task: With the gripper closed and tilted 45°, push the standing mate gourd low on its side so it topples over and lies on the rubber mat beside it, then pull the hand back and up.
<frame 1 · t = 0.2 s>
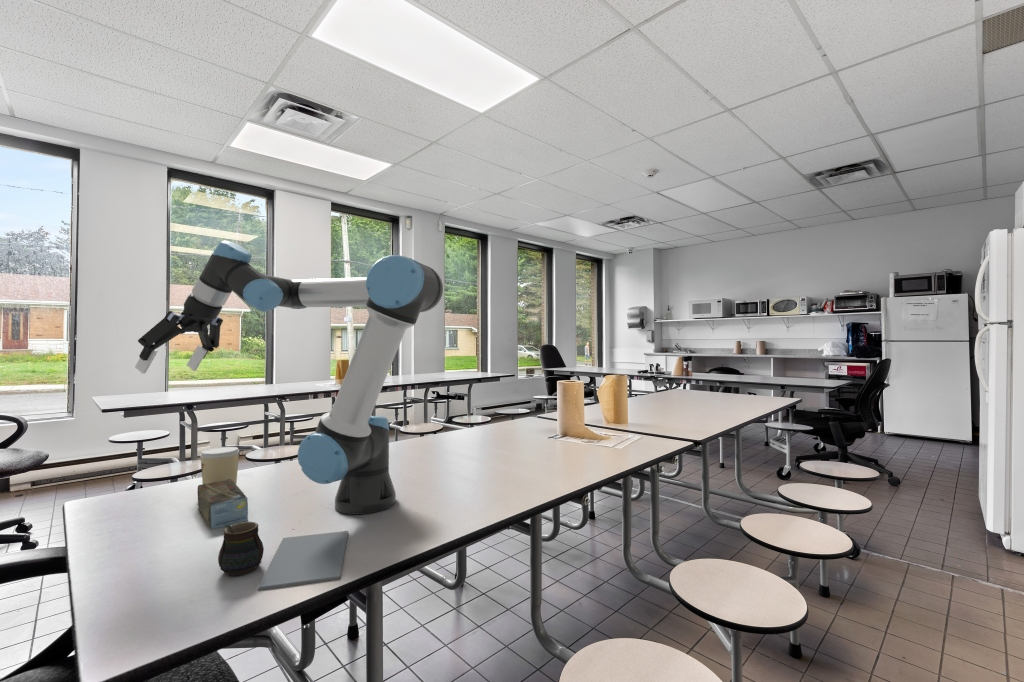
hand: (167, 369, 115), 36 cm above the table, tool tilted 35°, fingers open, 13 cm apart
beverage carton: (221, 516, 112), on the table
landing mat: (309, 557, 88), on the table
coffee cup: (219, 493, 128), on the table
mate gourd: (241, 571, 84), on the table
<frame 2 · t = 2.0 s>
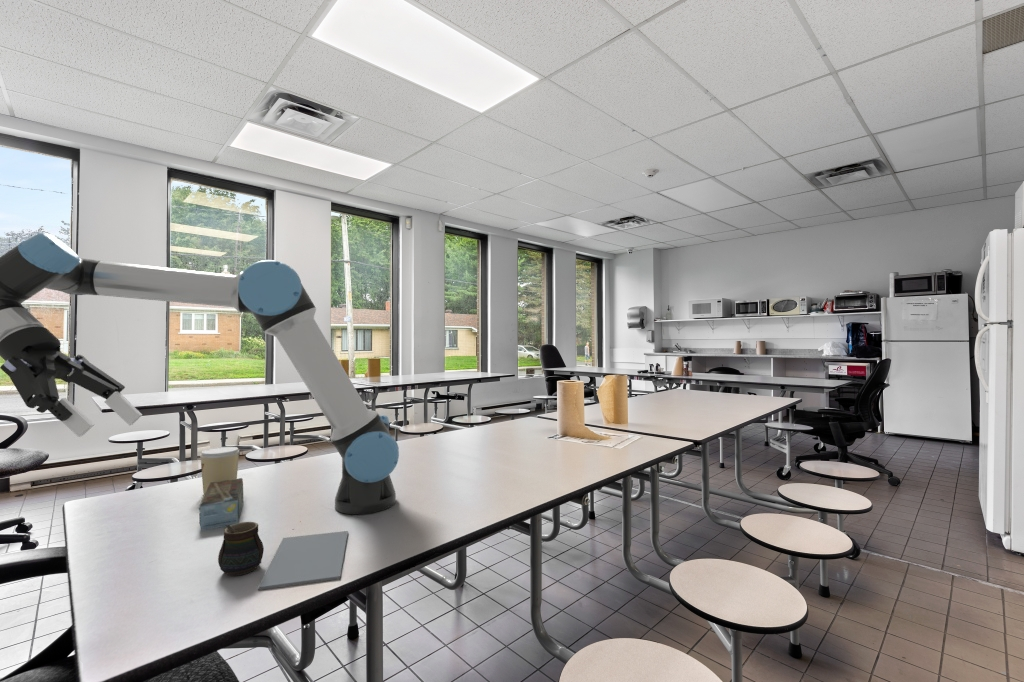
hand: (113, 425, 82), 27 cm above the table, tool tilted 45°, fingers open, 10 cm apart
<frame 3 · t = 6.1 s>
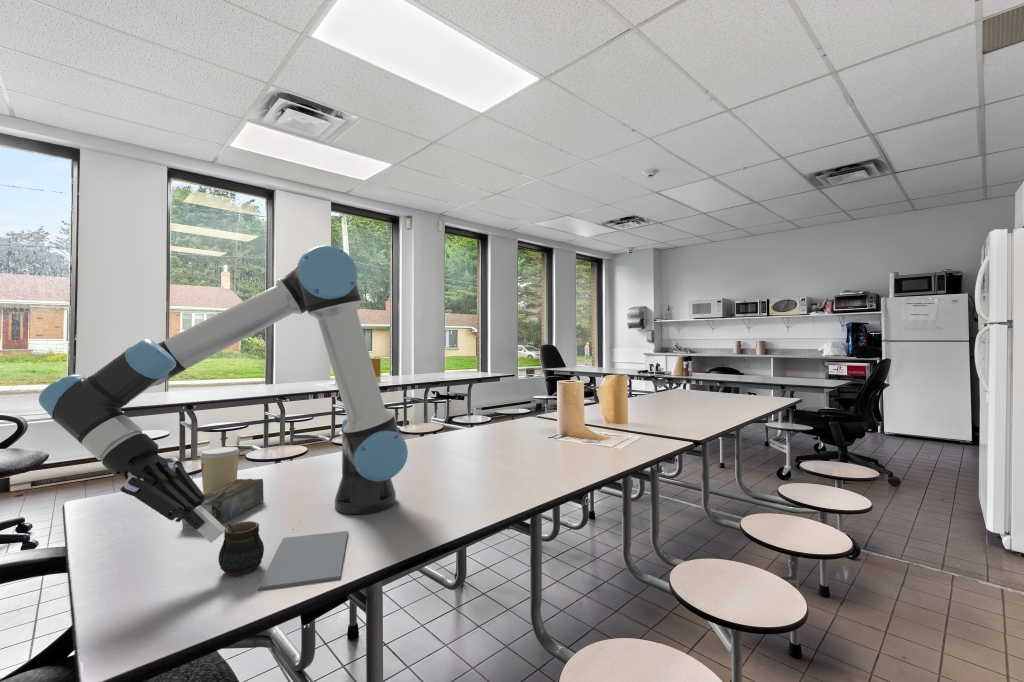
hand: (218, 535, 83), 7 cm above the table, tool tilted 45°, fingers closed
mate gourd: (241, 571, 84), on the table, touching gripper
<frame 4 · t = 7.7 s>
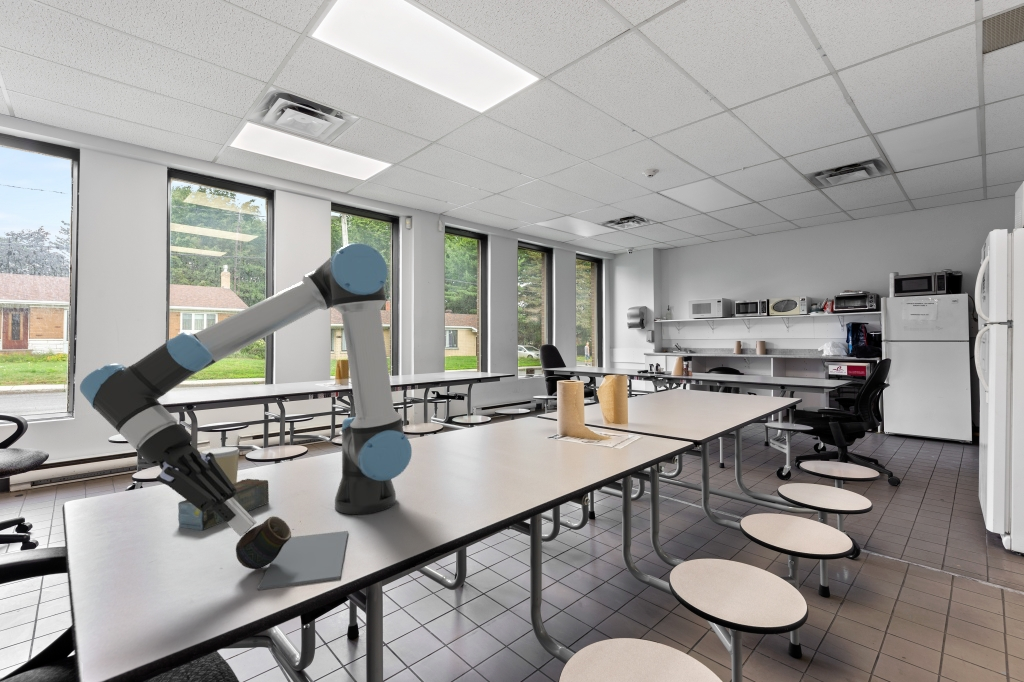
hand: (248, 529, 83), 8 cm above the table, tool tilted 45°, fingers closed, pressing on mate gourd
mate gourd: (245, 559, 83), point 2 cm above the table, touching gripper
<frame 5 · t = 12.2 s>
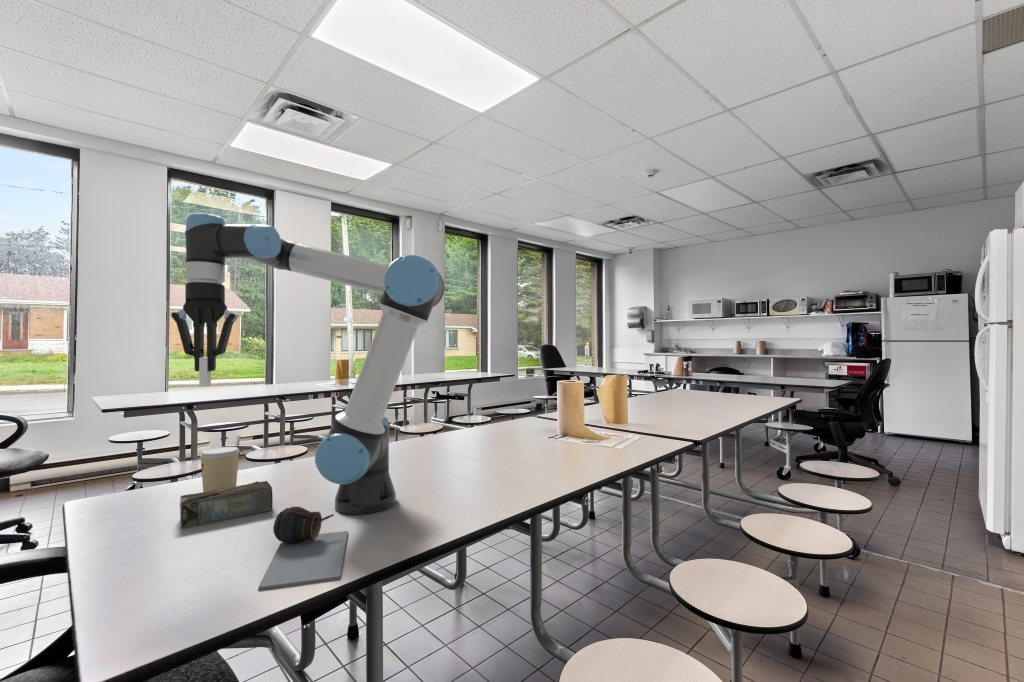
hand: (205, 385, 104), 32 cm above the table, tool pointing down, fingers closed
mate gourd: (278, 523, 95), point 4 cm above the table, touching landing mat
at the end: mate gourd tilted 92°; mate gourd touching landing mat; the gripper is holding nothing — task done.
